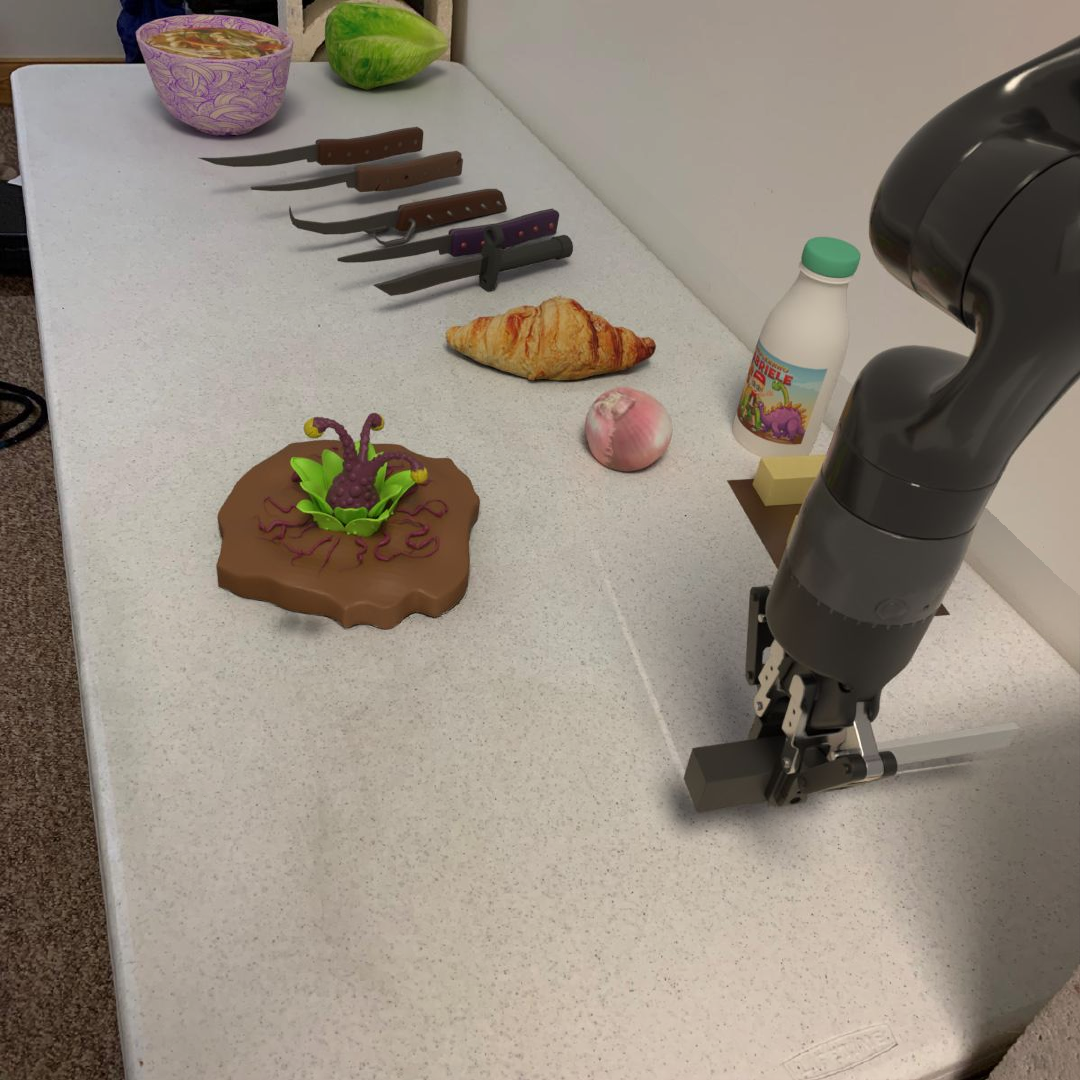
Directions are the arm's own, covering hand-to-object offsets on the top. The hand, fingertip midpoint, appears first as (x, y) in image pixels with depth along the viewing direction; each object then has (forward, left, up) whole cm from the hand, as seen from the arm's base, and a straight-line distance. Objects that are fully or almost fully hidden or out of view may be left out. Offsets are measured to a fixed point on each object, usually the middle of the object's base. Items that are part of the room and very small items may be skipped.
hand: (771, 776), depth 58 cm
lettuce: (+7, -138, -6) cm, 138 cm away
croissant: (0, -55, -6) cm, 55 cm away
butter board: (-17, -24, -6) cm, 30 cm away
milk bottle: (-18, -39, -6) cm, 43 cm away
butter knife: (-6, 0, 0) cm, 6 cm away
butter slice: (-17, -31, -5) cm, 35 cm away
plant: (+22, -30, -6) cm, 38 cm away
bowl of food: (+32, -118, -6) cm, 122 cm away
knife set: (+12, -84, -6) cm, 85 cm away
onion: (-3, -38, -6) cm, 39 cm away
